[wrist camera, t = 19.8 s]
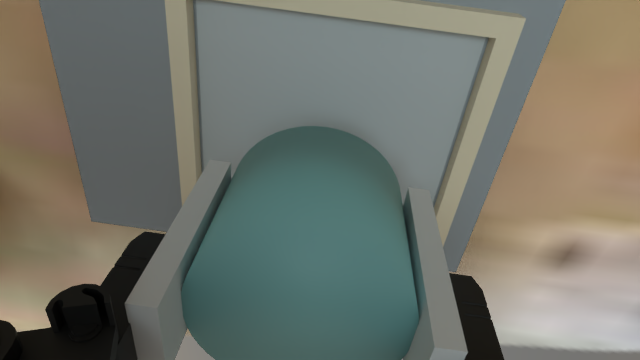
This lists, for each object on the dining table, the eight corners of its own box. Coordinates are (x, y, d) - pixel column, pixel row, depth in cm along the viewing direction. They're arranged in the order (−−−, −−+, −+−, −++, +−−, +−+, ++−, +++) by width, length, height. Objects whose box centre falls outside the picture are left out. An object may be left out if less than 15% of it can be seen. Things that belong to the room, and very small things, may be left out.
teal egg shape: (231, 113, 14) (171, 211, 10) (419, 139, 14) (448, 249, 10) (231, 254, 18) (187, 375, 13) (383, 275, 18) (391, 403, 13)
